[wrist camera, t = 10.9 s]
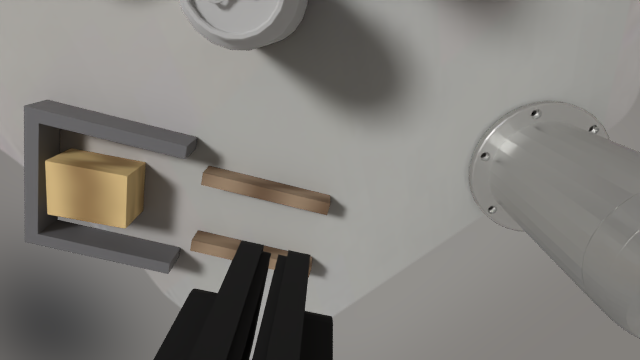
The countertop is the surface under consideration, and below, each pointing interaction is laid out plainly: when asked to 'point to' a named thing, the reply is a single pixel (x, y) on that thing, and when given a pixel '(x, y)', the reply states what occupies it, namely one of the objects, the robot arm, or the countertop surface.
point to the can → (244, 20)
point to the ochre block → (95, 187)
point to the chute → (259, 190)
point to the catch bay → (45, 144)
